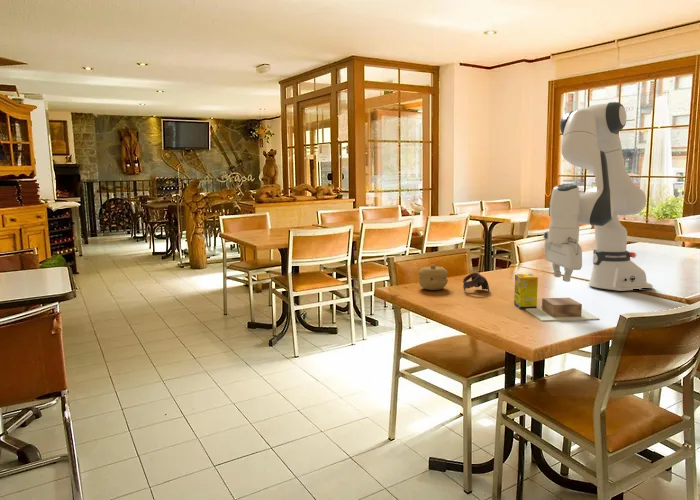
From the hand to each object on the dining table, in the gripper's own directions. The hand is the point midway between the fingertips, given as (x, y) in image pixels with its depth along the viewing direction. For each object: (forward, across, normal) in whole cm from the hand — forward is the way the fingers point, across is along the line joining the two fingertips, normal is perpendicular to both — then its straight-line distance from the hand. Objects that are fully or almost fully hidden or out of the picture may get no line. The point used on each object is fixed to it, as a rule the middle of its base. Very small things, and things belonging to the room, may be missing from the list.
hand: (561, 279), depth 168 cm
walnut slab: (+11, 0, 0) cm, 11 cm away
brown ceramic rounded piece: (+13, +37, +16) cm, 42 cm away
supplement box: (+12, +11, +8) cm, 18 cm away
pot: (+12, +42, +34) cm, 55 cm away
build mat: (+12, 0, 0) cm, 12 cm away
